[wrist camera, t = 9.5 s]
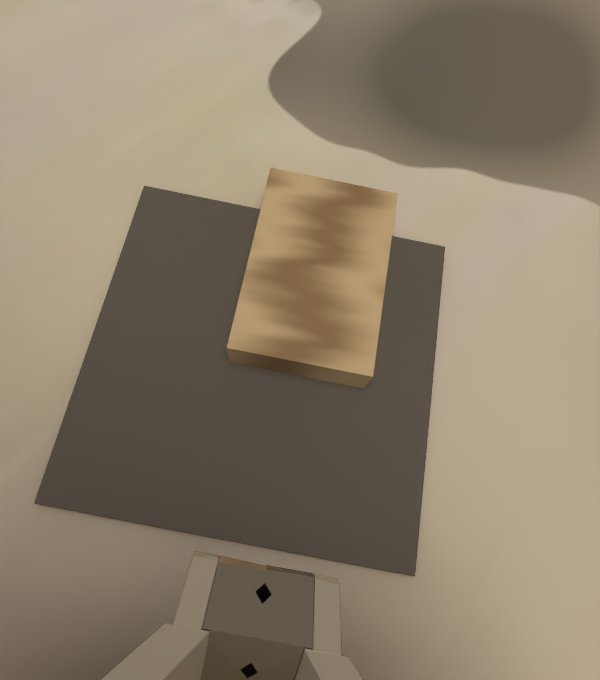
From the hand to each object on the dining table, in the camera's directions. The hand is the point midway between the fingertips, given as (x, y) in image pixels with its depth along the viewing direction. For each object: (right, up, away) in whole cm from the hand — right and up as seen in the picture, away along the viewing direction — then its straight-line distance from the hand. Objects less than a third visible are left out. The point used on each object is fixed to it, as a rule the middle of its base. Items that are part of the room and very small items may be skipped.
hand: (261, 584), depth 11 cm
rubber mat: (-1, +4, +20) cm, 20 cm away
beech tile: (+1, +3, +18) cm, 19 cm away
